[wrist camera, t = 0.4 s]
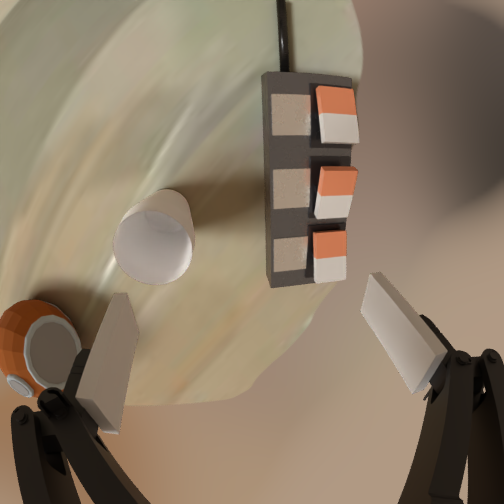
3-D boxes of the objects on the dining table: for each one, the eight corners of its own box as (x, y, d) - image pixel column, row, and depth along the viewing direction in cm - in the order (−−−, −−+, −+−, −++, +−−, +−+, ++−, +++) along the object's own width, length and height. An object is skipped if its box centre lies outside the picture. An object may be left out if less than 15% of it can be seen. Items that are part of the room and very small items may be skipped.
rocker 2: (321, 166, 32) (324, 170, 31) (354, 166, 32) (358, 170, 32) (314, 213, 37) (316, 219, 36) (344, 212, 37) (347, 217, 36)
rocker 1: (315, 88, 29) (319, 85, 28) (349, 91, 29) (353, 89, 28) (321, 143, 31) (325, 141, 29) (355, 144, 31) (359, 143, 30)
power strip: (257, 0, 26) (264, -14, 21) (334, 8, 27) (349, -2, 23) (266, 274, 46) (272, 292, 41) (330, 266, 47) (341, 283, 42)
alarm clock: (104, 350, 50) (85, 420, 34) (51, 359, 50) (29, 417, 35) (53, 275, 40) (8, 342, 25) (3, 295, 40) (-35, 351, 25)
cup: (188, 172, 37) (178, 197, 26) (205, 231, 41) (204, 275, 30) (128, 191, 36) (98, 224, 26) (149, 246, 41) (131, 293, 30)
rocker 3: (313, 232, 38) (316, 233, 37) (342, 229, 38) (346, 230, 37) (313, 280, 40) (316, 283, 38) (342, 277, 40) (345, 279, 39)
